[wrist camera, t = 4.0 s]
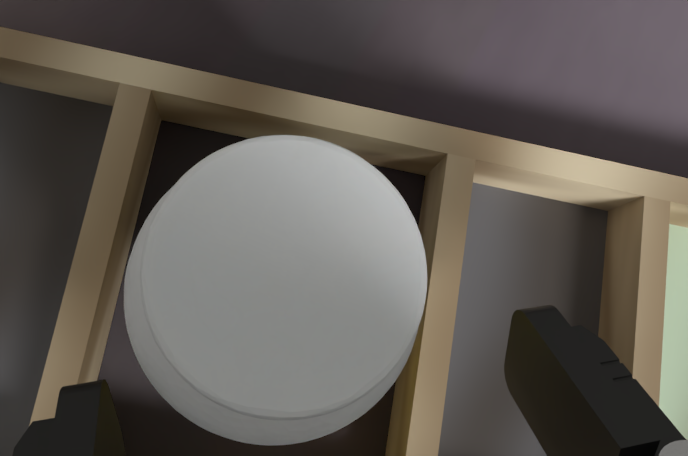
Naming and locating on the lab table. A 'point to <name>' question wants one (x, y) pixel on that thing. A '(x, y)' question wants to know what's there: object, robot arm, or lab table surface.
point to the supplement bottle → (276, 290)
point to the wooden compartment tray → (377, 149)
